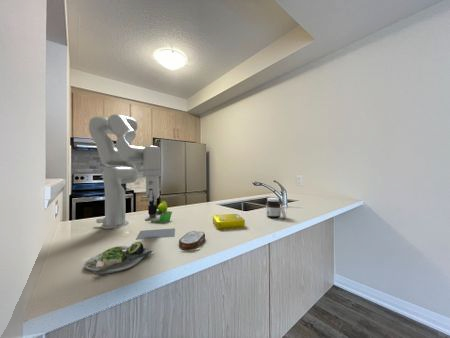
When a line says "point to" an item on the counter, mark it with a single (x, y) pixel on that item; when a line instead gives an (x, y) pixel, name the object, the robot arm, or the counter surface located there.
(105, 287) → the counter surface
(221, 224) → the element tile
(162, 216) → the fruit basket
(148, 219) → the wood block on base
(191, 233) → the tin
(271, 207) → the spread jar
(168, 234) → the mat
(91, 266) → the salad plate
